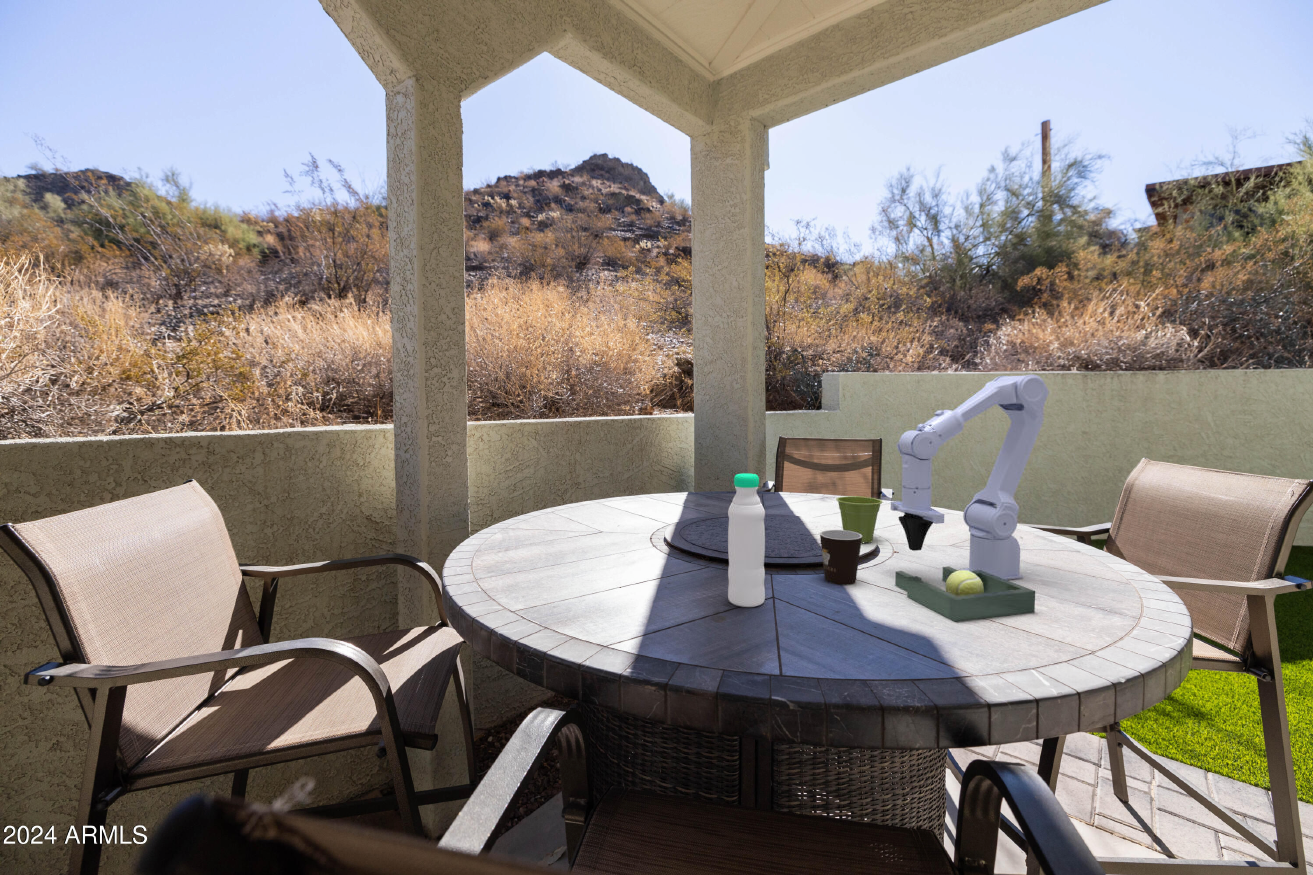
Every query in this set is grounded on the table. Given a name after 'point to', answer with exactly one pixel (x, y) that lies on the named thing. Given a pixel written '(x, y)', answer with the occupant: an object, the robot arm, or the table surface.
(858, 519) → the plant pot
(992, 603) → the chute bay
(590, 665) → the table surface
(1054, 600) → the table surface
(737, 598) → the water bottle
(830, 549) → the coffee mug
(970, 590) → the tennis ball
